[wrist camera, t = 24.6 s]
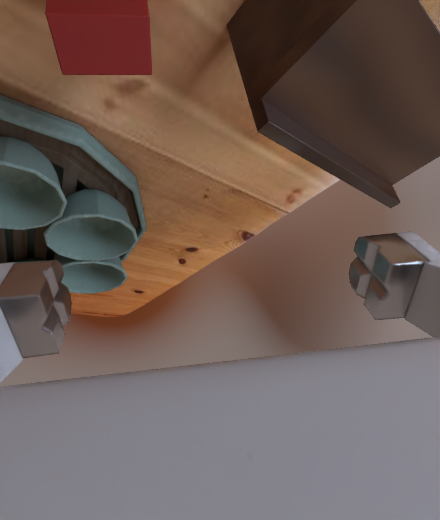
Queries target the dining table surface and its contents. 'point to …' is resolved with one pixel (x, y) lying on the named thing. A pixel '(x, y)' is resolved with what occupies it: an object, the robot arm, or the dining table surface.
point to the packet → (101, 36)
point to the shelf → (344, 85)
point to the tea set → (65, 199)
